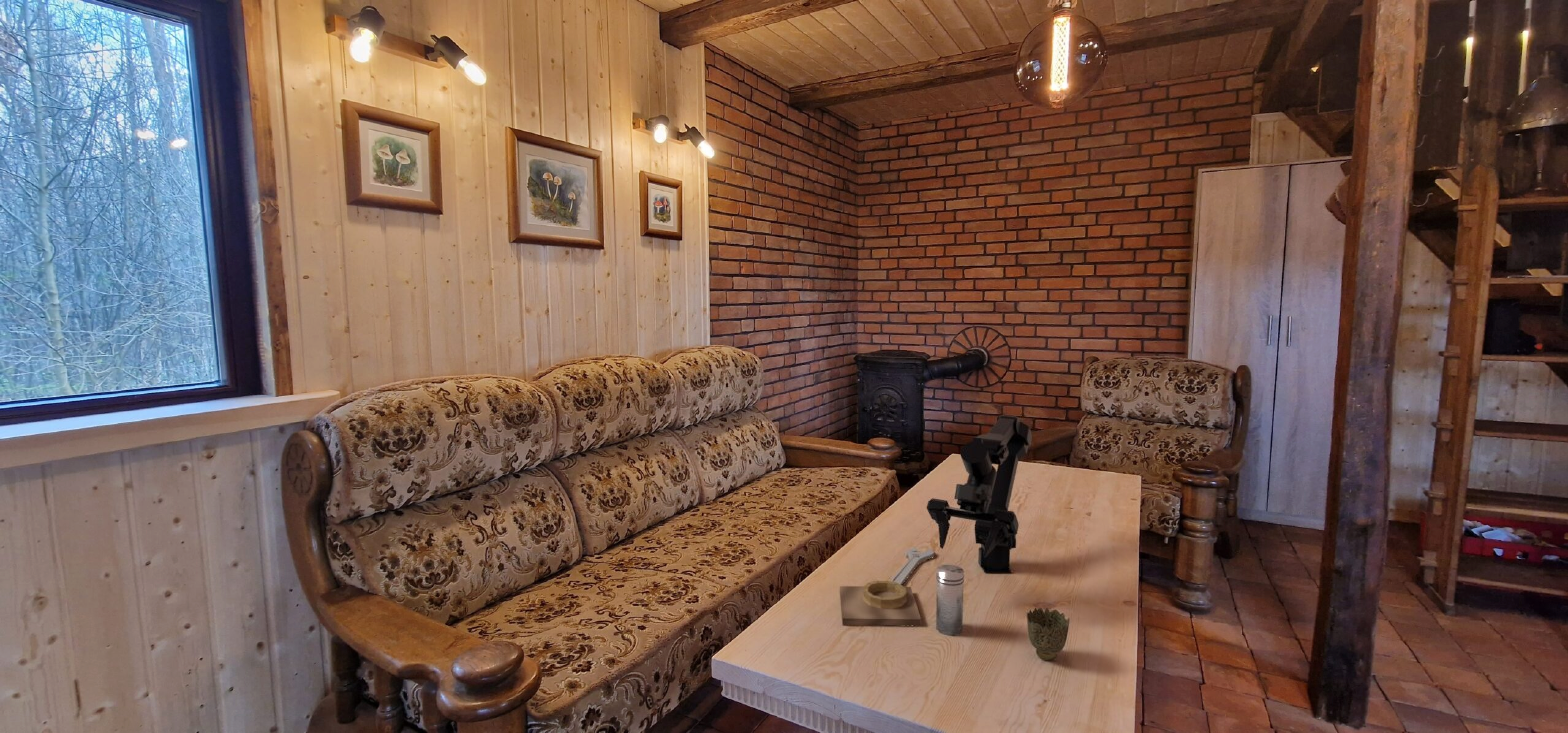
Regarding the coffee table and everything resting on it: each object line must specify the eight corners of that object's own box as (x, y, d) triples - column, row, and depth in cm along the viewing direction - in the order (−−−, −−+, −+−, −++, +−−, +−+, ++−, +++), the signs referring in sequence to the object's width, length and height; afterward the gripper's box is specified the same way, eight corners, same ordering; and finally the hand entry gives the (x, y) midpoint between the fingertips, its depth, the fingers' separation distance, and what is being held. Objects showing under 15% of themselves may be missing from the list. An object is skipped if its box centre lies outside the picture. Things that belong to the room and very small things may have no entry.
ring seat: (910, 593, 153) (910, 578, 152) (921, 626, 138) (921, 609, 138) (839, 592, 154) (839, 577, 153) (842, 625, 139) (842, 609, 138)
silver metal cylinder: (959, 622, 139) (960, 564, 138) (965, 636, 134) (966, 575, 132) (933, 622, 139) (934, 564, 138) (938, 635, 134) (939, 575, 133)
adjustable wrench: (897, 593, 154) (898, 586, 154) (872, 587, 157) (872, 580, 157) (936, 555, 175) (936, 549, 174) (913, 550, 178) (913, 544, 178)
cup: (1018, 647, 129) (1019, 607, 129) (1055, 645, 130) (1057, 606, 129) (1036, 669, 122) (1037, 627, 121) (1075, 667, 123) (1077, 625, 122)
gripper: (930, 462, 149) (910, 526, 141) (1016, 474, 139) (1001, 543, 131) (941, 488, 157) (923, 549, 149) (1024, 501, 147) (1010, 567, 139)
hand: (962, 552), depth 142 cm, fingers open, 9 cm apart
